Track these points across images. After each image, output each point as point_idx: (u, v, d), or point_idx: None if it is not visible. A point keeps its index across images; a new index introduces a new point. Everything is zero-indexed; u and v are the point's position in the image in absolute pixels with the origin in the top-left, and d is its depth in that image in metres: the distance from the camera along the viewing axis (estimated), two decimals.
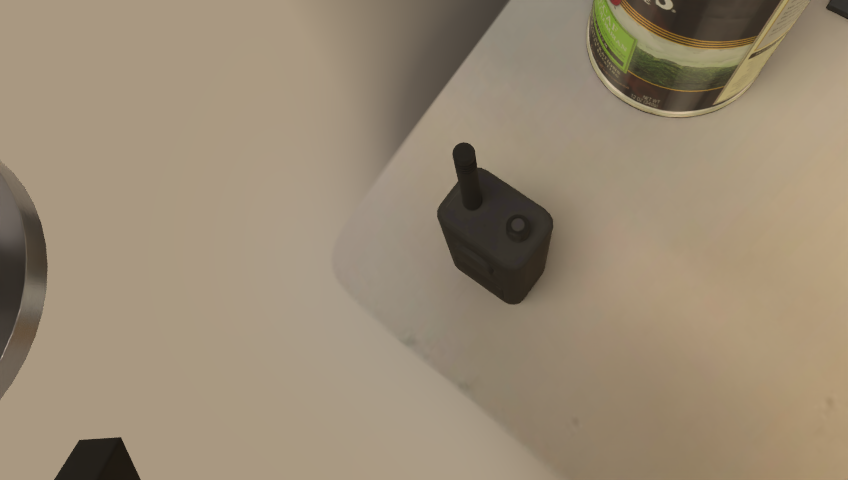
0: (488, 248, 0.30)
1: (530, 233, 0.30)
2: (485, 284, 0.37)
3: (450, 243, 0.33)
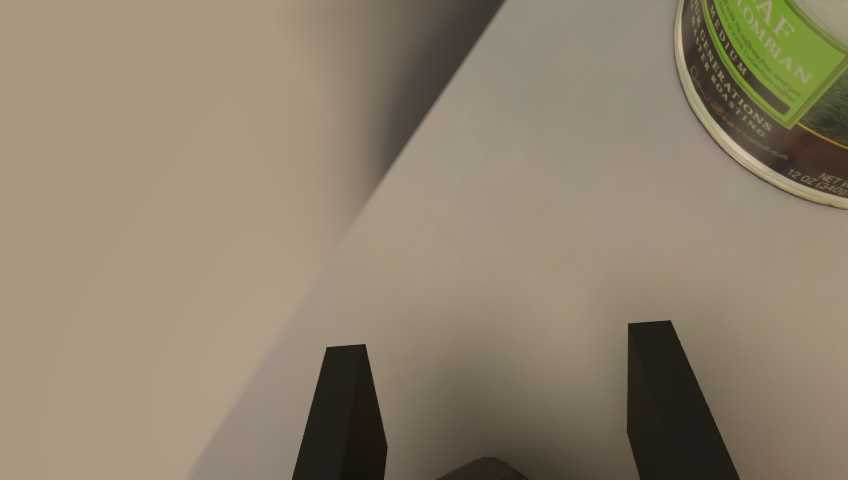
0: None
1: None
2: None
3: None
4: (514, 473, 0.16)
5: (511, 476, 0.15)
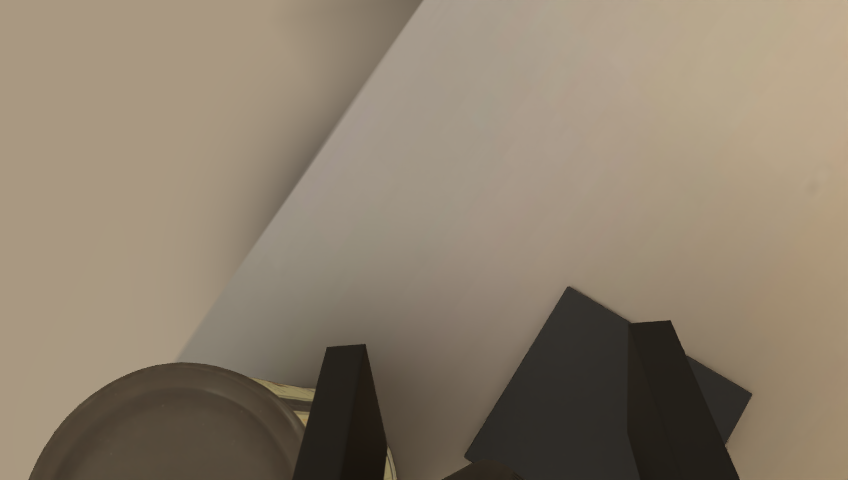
0: None
1: None
2: None
3: None
4: (514, 475, 0.16)
5: (511, 478, 0.15)
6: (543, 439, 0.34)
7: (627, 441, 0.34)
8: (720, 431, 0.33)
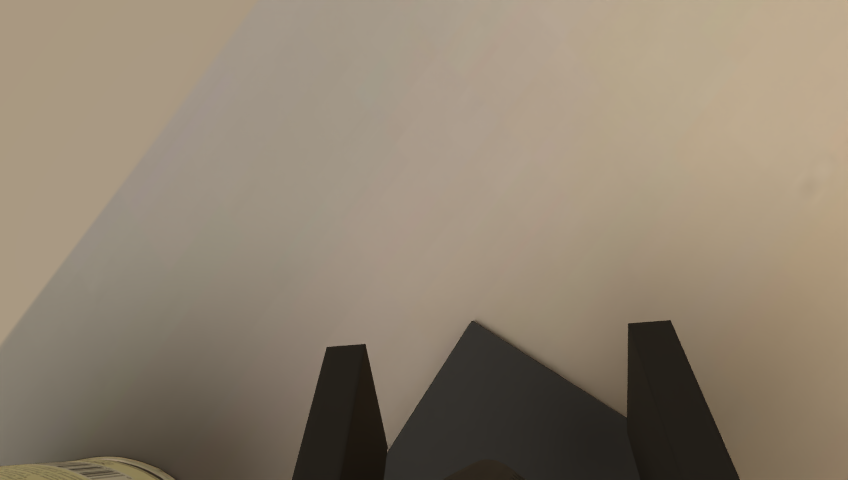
0: None
1: None
2: None
3: None
4: (514, 475, 0.16)
5: (511, 478, 0.15)
6: None
7: None
8: None
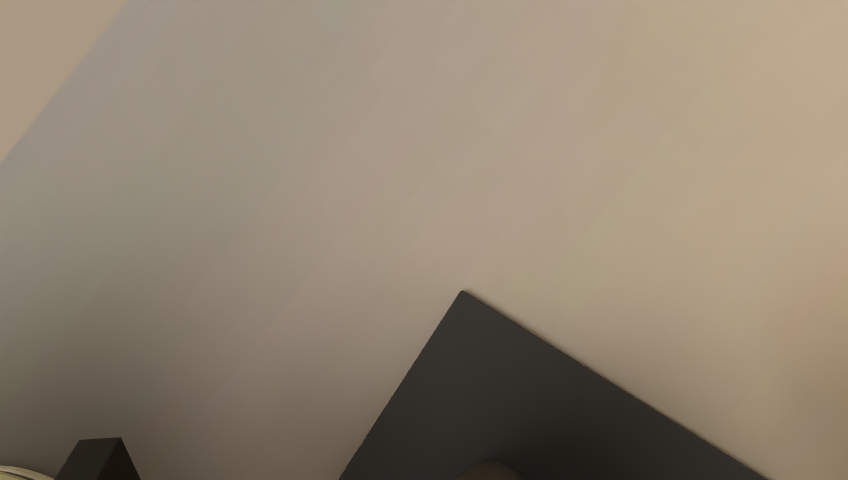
0: None
1: None
2: None
3: None
4: (517, 476, 0.17)
5: (515, 479, 0.15)
6: None
7: None
8: None
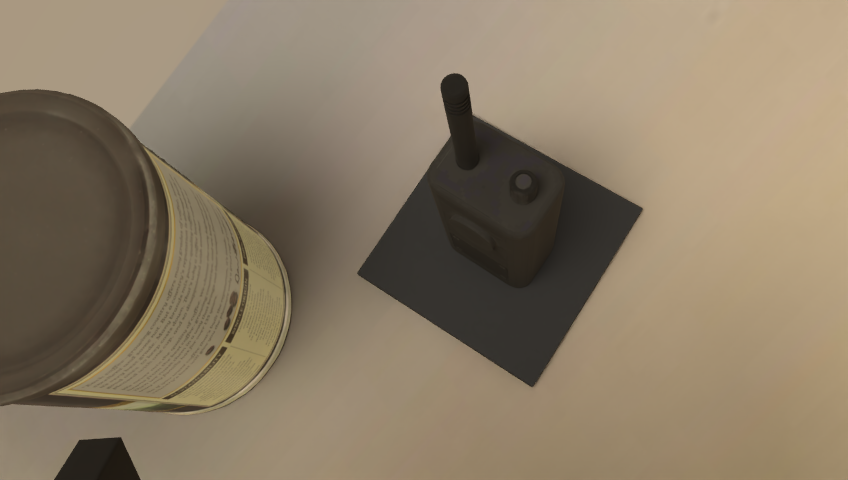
0: (488, 214, 0.25)
1: (538, 193, 0.25)
2: (487, 265, 0.32)
3: (444, 215, 0.28)
4: None
5: None
6: (435, 254, 0.34)
7: None
8: (609, 244, 0.33)
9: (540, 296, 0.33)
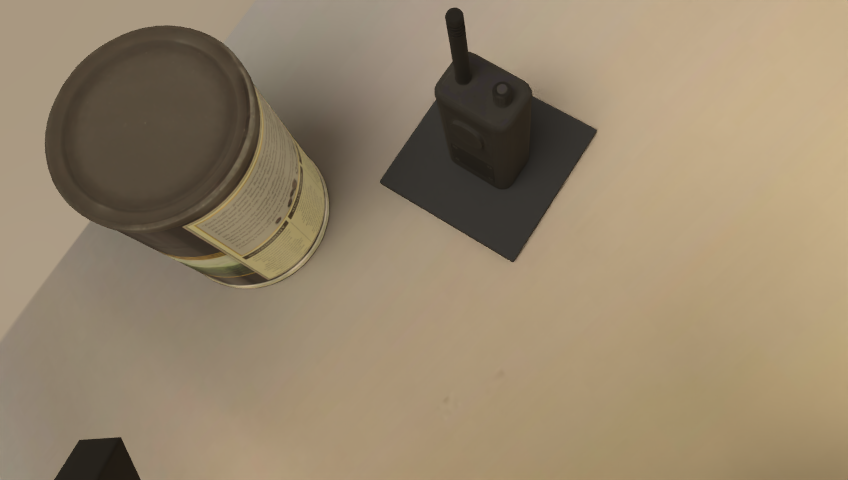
0: (478, 114, 0.36)
1: (513, 100, 0.36)
2: (478, 170, 0.43)
3: (446, 124, 0.39)
4: None
5: None
6: (439, 166, 0.45)
7: None
8: (571, 156, 0.44)
9: (519, 195, 0.44)
